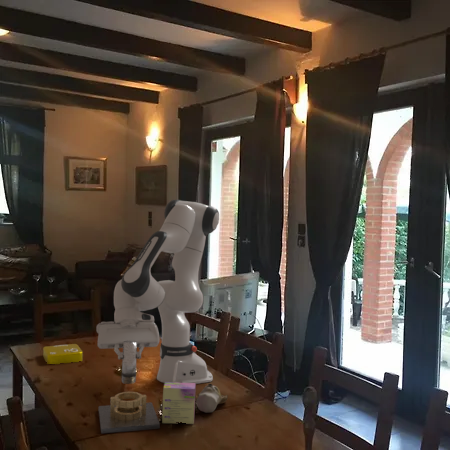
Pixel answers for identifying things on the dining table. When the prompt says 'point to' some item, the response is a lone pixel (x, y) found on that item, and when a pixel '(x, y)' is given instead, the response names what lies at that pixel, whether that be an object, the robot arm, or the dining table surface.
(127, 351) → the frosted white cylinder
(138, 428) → the collar stand
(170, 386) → the box
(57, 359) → the element tile
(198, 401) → the ceramic sculpture
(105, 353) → the dining table surface
